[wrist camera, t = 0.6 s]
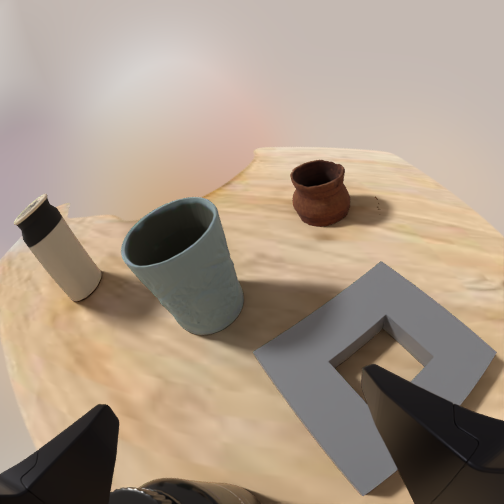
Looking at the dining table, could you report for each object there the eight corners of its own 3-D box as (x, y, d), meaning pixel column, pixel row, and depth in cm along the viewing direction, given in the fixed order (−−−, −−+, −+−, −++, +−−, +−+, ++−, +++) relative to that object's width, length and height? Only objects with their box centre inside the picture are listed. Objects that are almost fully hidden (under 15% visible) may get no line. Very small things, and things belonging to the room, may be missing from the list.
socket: (485, 364, 16) (496, 352, 15) (359, 494, 13) (362, 496, 11) (379, 276, 28) (381, 261, 27) (259, 363, 25) (252, 352, 23)
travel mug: (88, 303, 39) (22, 219, 27) (65, 301, 41) (7, 227, 30) (109, 269, 44) (54, 187, 33) (85, 270, 47) (35, 198, 36)
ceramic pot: (380, 182, 42) (378, 144, 38) (380, 256, 31) (380, 208, 26) (283, 184, 50) (274, 150, 46) (249, 249, 39) (232, 209, 35)
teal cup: (191, 274, 37) (151, 202, 30) (261, 274, 34) (230, 190, 26) (162, 336, 30) (102, 266, 23) (239, 347, 27) (189, 265, 19)
